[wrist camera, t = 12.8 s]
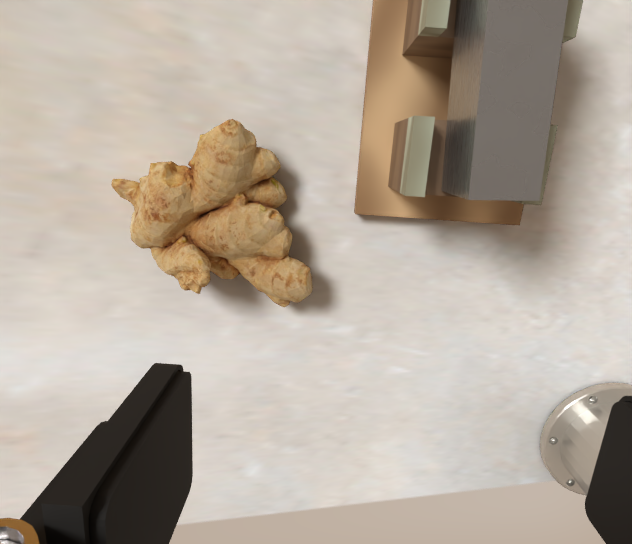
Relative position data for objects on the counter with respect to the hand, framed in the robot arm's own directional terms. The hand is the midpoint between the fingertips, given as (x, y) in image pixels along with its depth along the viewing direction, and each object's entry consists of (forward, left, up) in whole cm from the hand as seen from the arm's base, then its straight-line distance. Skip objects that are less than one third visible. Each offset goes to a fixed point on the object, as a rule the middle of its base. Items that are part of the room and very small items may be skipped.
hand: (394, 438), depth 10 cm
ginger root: (+11, 0, -31) cm, 33 cm away
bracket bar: (-8, -11, -23) cm, 27 cm away
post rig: (-8, -11, -30) cm, 33 cm away
